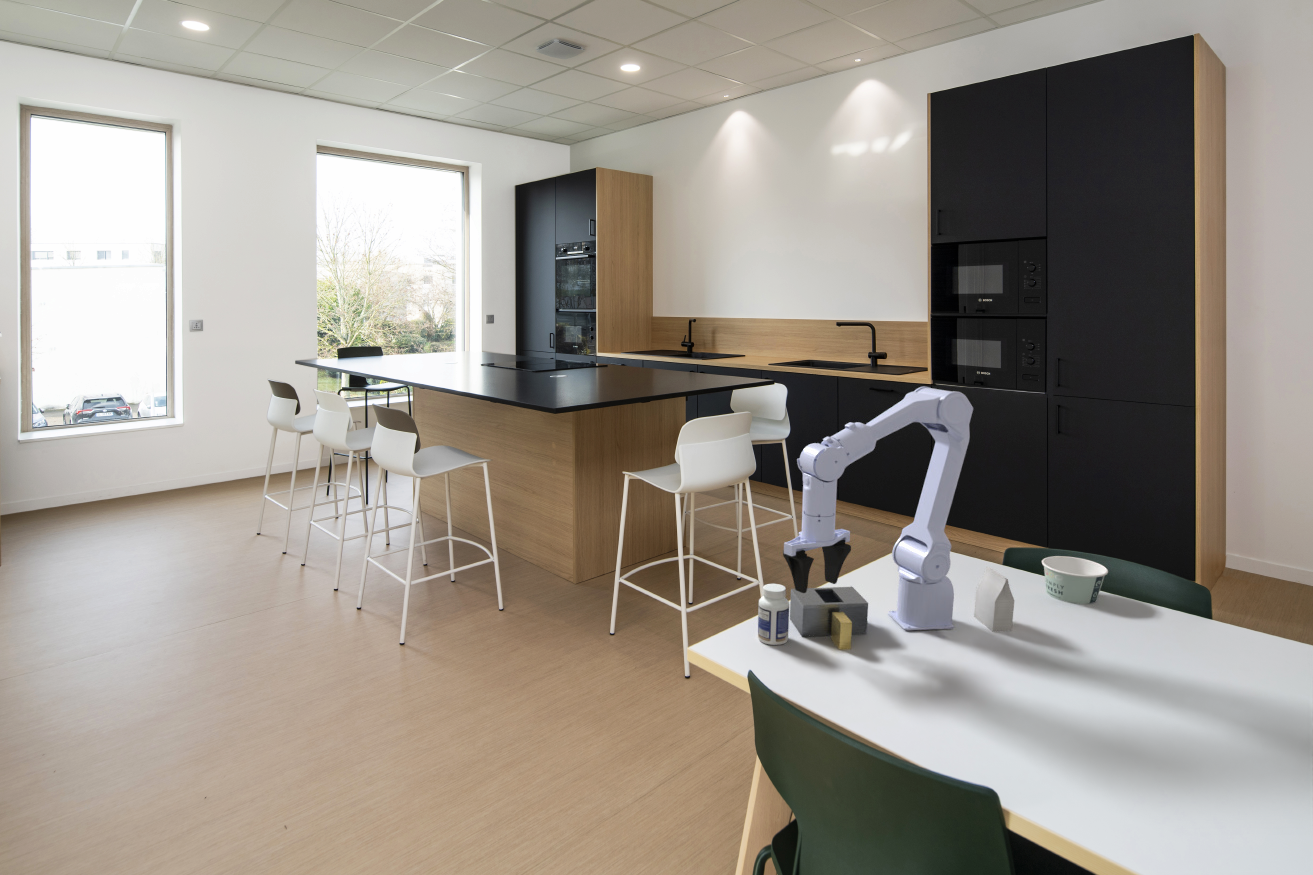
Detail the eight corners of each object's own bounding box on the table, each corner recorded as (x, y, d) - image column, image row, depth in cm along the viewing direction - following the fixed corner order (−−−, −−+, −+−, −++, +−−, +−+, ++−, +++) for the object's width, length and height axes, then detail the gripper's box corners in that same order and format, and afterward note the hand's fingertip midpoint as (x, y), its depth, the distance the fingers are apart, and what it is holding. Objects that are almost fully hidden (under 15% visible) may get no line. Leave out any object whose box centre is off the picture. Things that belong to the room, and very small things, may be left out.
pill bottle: (787, 633, 138) (788, 582, 136) (789, 646, 132) (791, 593, 131) (757, 632, 138) (758, 581, 137) (757, 645, 133) (759, 592, 131)
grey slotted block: (850, 616, 145) (852, 586, 144) (866, 634, 138) (868, 602, 137) (789, 618, 144) (790, 588, 143) (802, 636, 136) (803, 605, 135)
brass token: (841, 638, 136) (843, 611, 135) (850, 649, 132) (852, 622, 131) (830, 638, 136) (832, 612, 135) (839, 649, 131) (840, 622, 131)
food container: (1025, 590, 160) (1028, 560, 159) (1065, 581, 165) (1068, 552, 164) (1078, 610, 149) (1081, 579, 148) (1118, 601, 154) (1121, 570, 153)
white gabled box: (992, 631, 139) (997, 579, 137) (973, 616, 146) (978, 567, 144) (1011, 630, 140) (1016, 579, 138) (992, 616, 146) (996, 566, 144)
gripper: (830, 501, 140) (827, 571, 142) (772, 513, 132) (770, 588, 134) (860, 510, 134) (857, 583, 136) (801, 523, 126) (799, 600, 128)
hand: (816, 586), depth 135 cm, fingers open, 7 cm apart
